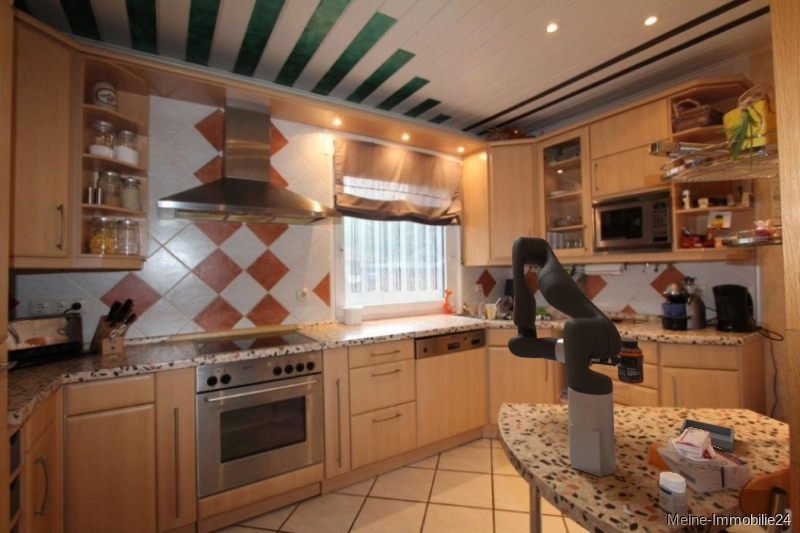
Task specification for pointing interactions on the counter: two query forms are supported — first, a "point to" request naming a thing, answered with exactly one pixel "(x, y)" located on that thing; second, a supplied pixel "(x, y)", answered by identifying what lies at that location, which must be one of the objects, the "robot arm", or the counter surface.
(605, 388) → the robot arm
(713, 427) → the slate tray
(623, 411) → the counter surface
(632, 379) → the supplement bottle
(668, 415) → the counter surface
